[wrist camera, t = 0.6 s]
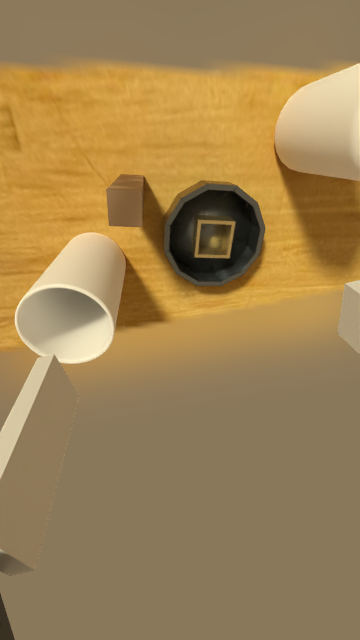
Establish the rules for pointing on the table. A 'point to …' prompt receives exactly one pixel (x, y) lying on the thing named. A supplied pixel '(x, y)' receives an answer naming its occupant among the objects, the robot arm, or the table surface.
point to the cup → (75, 301)
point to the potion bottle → (323, 127)
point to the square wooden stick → (126, 201)
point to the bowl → (212, 233)
